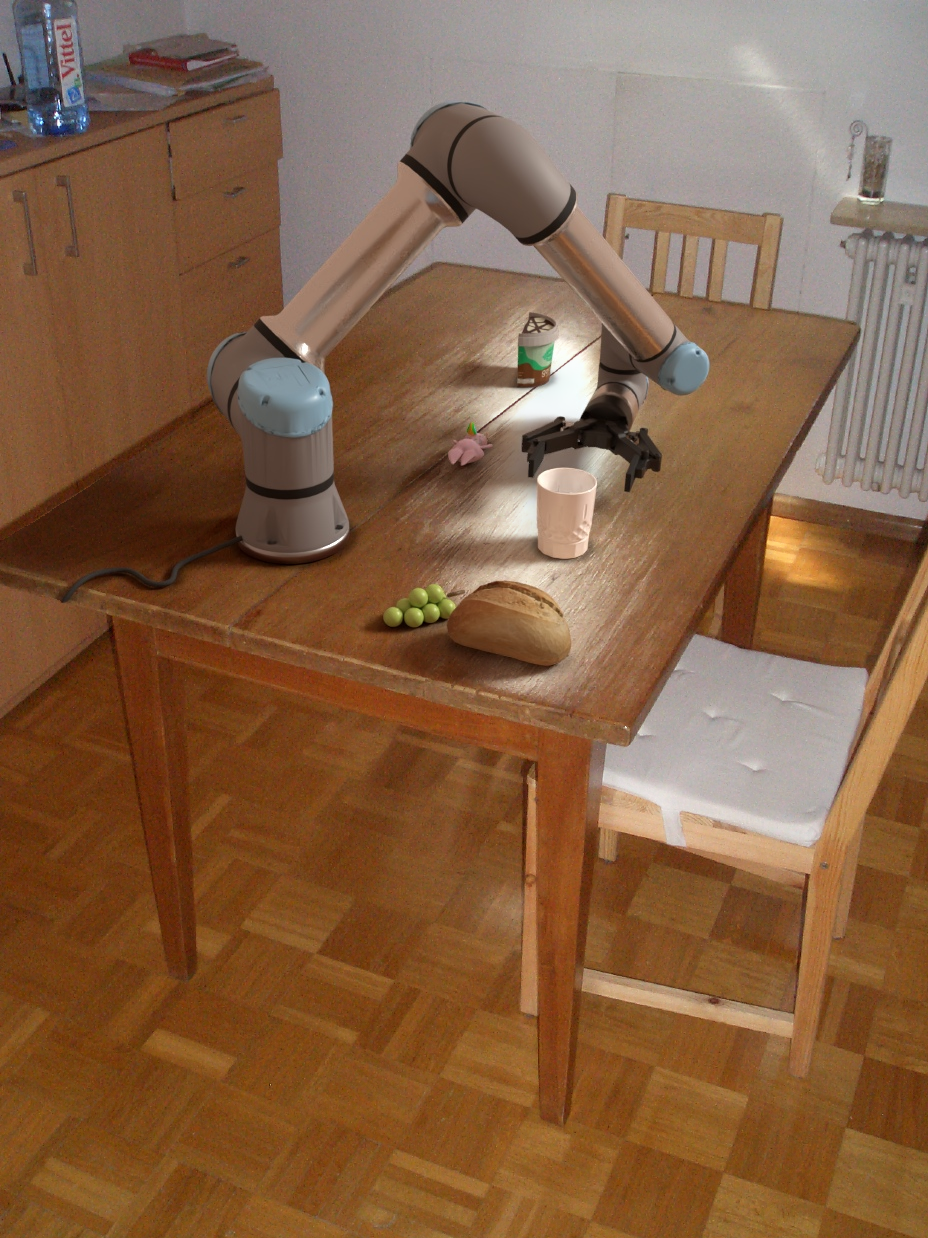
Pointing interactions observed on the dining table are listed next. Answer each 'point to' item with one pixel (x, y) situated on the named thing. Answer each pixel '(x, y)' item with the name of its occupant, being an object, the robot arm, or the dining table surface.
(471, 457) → the rabbit figure
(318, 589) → the dining table surface
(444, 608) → the grapes
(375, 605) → the dining table surface
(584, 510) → the white cup
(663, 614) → the dining table surface
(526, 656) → the bread roll
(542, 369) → the food container
